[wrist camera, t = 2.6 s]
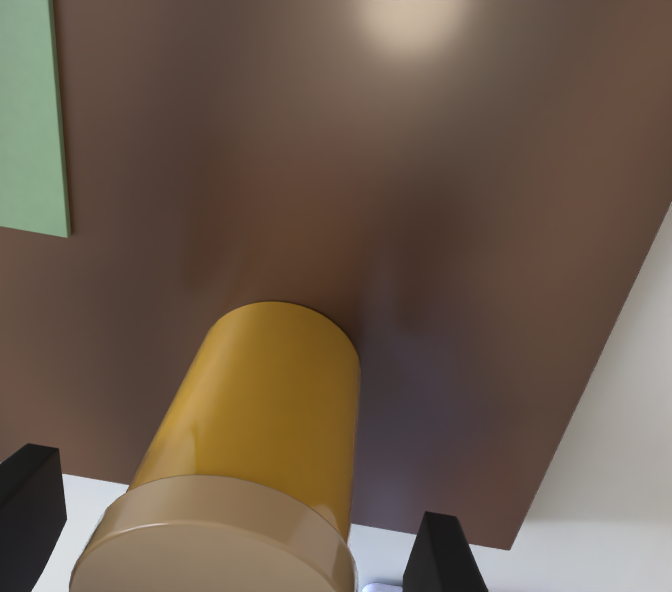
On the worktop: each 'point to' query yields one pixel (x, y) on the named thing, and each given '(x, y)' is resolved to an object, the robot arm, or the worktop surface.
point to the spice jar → (243, 468)
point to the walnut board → (330, 219)
